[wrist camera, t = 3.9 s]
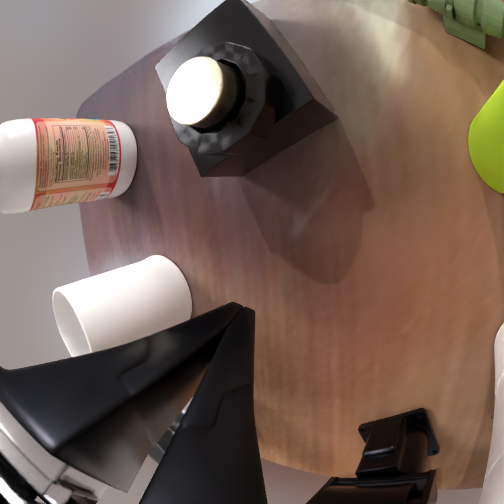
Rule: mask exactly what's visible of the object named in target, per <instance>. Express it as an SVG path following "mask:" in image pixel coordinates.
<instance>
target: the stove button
mask: <svg viewBox="0 0 504 504" xmlns="http://www.w3.org/2000/svg"><path fill="white" fill-rule="evenodd" d="M244 92H245V91H244V83H243V80H242V78H241V76H240V74H239V73H238V72H237V71H236V70H235V69H233V68H231V67H229V66H227V65H225V64H223V63H220V62H218V61H216V60H214V59H212V58H209V57H203V56H202V57H195V58H193V59H190V60H188V61H187V62H185V63H184V64H183V65H182V66H181V67H180V68H179V69H178V70H177V71H176V73H175V74H174V76H173V78H172V79H171V82H170V84H169V87H168V92H167V106H168V110H169V113H170V115H171V116H172V118H173V119H174V120H175V121H177V122H178V123H180V124H182V125H187V126H194V127H200V128H206V129H216V128H220V127H222V126H224V125H226V124H227V123H229V122H230V121H231V120H232V119H233V118H234V117H235V116H236V114H237V113H238V111H239V110H240V108H241V106H242V103H243V99H244Z"/></svg>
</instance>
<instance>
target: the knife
mask: <svg viewBox="0 0 504 504" xmlns="http://www.w3.org/2000/svg"><path fill="white" fill-rule="evenodd" d="M408 1H409V2H411V3H415V4H417V3H418V4H420V5H422V6H426V5H429V6H430V8H431V9H432V10H434V11H436V12H438V13H440V14H442V15H443V21H444V27H445V32H447V33H449V34H452V35H454V36H456V37H459V38H461V39H463V40H465V41H468V42H470V43H472V44H474V45H476V46H478V47H480V48H482V49H484V50H485V46H486V38H487V34H488V35H491V36H493V37H496V38H499V39H503V38H504V2H502V1H500V0H408Z"/></svg>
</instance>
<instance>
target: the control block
mask: <svg viewBox="0 0 504 504" xmlns="http://www.w3.org/2000/svg"><path fill="white" fill-rule="evenodd" d="M202 56H203V57H209V58H212V59H214V60H216V61H218V62H220V63H223V64H225V65H227V66H229V67H231V68H233V69H235V70H236V71H237V72H238V73H239V74H240V76H241V78H242V80H243V83H244V91H245V92H244V99H243V103H242V106H241V108H240V110H239V111H238V113H237V114H236V116H235V117H234V118H233V119H232V120H231V121H230V122H229V123H227V124H226V125H224V126H222V127H220V128H216V129H206V128H200V127H194V126H187V125H182V124H180V123H178V122H177V121H175V120H174V119H173V118H172V116H171V115H170V121H171V123H172V126H173V128H174V130H175V133H176V135H177V138H178V140H179V141H180V142H181V143H183V144H184V145H186V146H187V147H188V148H189V150H190V153H191V155H192V157H193V160H194V162H195V164H196V167H197V169H198V171H199V173H200V176H201V177H229V176H244V175H245V174H247V173H248V172H250V171H251V170H253V169H254V168H256V167H257V166H259V165H261V164H262V163H264V162H265V161H267V160H268V159H270V158H272V157H273V156H275V155H276V154H278V153H280V152H281V151H283V150H285V149H286V148H288V147H289V146H291V145H293V144H294V143H296V142H298V141H299V140H301V139H303V138H304V137H306V136H308V135H309V134H311V133H313V132H315V131H316V130H318V129H320V128H321V127H323V126H325V125H327V124H328V123H330V122H332V121H334V120H335V119H337V118H338V116H337V114H336V113H335V111H334V109H333V108H332V106H331V104H330V103H329V101H328V100H327V98H326V96H325V95H324V93H323V92H322V90H321V89H320V87H319V86H318V84H317V83H316V81H315V80H314V78H313V77H312V75H311V74H310V72H309V71H308V69H307V68H306V66H305V65H304V64H303V62H302V61H301V59H300V58H299V57H298V55H297V54H296V52H295V51H294V50H293V48H292V47H291V46H290V44H289V43H288V42H287V41H286V39H285V38H284V37H283V35H282V34H281V33H280V32H279V30H278V29H277V28H276V27H275V25H274V24H273V23H272V22H271V20H270V19H269V18H268V17H266V16H265V15H264V14H263V13H261V12H260V11H259V10H258V9H257V8H255V7H254V6H253V5H251V4H250V3H249V2H248V1H246V0H225V1H224V2H223V3H222V4H220V5H219V6H218V7H217V8H215V9H214V10H213V11H212V12H211V13H209V14H208V15H207V16H206V17H205V18H204V19H203V20H202V21H200V22H199V23H198V24H197V25H196V26H195V27H194V28H193V29H191V30H190V31H189V32H188V33H187V34H186V35H185V36H184V37H183V38H182V39H181V40H180V41H179V42H178V43H177V44H176V45H175V46H174V47H173V48H172V49H171V50H170V51H169V52H168V53H167V54H166V55H165V56H164V57H163V58H162V59H161V60H160V61H159V62H158V64H157V65H156V66H155V69H156V72H157V74H158V77H159V79H160V81H161V84H162V86H163V89H164V91H165V93H166V96H167V92H168V87H169V84H170V82H171V79H172V78H173V76H174V74H175V73H176V71H177V70H178V69H179V68H180V67H181V66H182V65H183V64H184V63H185V62H187V61H188V60H190V59H193V58H195V57H202Z"/></svg>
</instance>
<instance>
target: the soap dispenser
mask: <svg viewBox="0 0 504 504" xmlns="http://www.w3.org/2000/svg"><path fill="white" fill-rule="evenodd" d="M468 148H469V153H470V157H471V160H472V163H473V165H474V167H475V169H476V171H477V173H478V174H479V176H480V177H481V178H482V180H483V181H484V182H485V183H486V184H487V185H488V186H490V187H491V188H492V189H494V190H496V191H498V192H500V193H503V194H504V80H503V81H502V83H501V84H500V85H499V87H498V88H497V89H496V91H495V92H494V93H493V95H492V96H491V97H490V98H489V100H488V101H487V102H486V104H485V105H484V106H483V107H482V109H481V110H480V111H479V112H478V114H477V115H476V116H475V117H474V119H473V121H472V123H471V125H470V129H469V133H468Z"/></svg>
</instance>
